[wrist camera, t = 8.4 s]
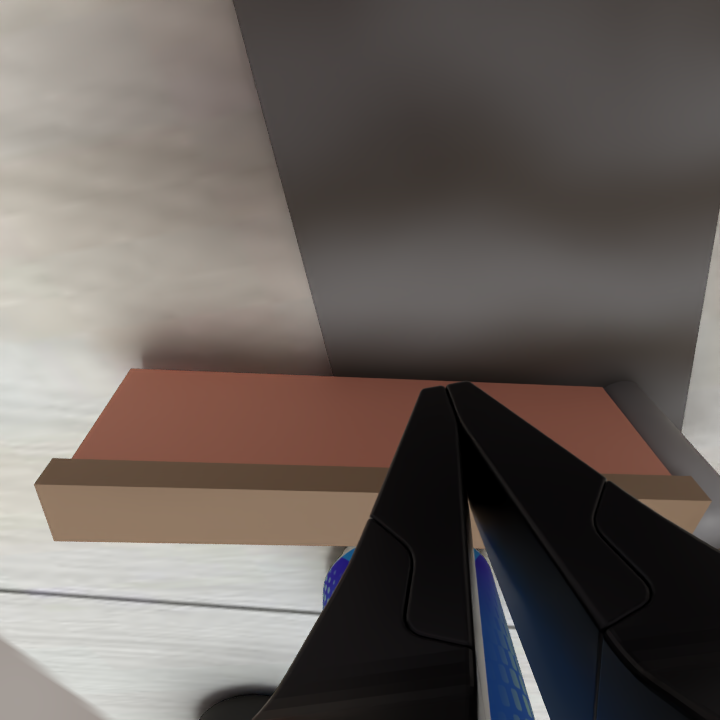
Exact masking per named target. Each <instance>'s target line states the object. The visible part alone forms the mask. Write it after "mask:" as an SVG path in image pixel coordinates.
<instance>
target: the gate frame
mask: <svg viewBox="0 0 720 720" xmlns="http://www.w3.org/2000/svg"><path fill="white" fill-rule="evenodd" d="M233 2H234V6H235V10H236V14H237V17H238V21H239V25H240V28H241V32H242V36H243V40H244V43H245V47H246V51H247V55H248V58H249V62H250V66H251V70H252V73H253V77H254V81H255V85H256V88H257V92H258V96H259V100H260V103H261V107H262V111H263V114H264V118H265V122H266V126H267V129H268V133H269V137H270V141H271V144H272V148H273V152H274V156H275V159H276V163H277V167H278V171H279V174H280V178H281V182H282V186H283V189H284V193H285V197H286V201H287V204H288V208H289V212H290V215H291V219H292V223H293V227H294V230H295V234H296V238H297V242H298V245H299V249H300V253H301V257H302V260H303V264H304V268H305V272H306V275H307V279H308V283H309V287H310V290H311V294H312V298H313V302H314V305H315V309H316V313H317V316H318V320H319V324H320V328H321V331H322V335H323V339H324V343H325V346H326V350H327V354H328V358H329V361H330V365H331V369H332V373H333V376H334V377H358V378H384V379H409V380H434V381H460V382H462V381H470V382H485V383H510V384H536V385H561V386H586V387H603V388H605V387H606V386H608V385H610V384H612V383H615V382H620V381H630V382H633V383H636V384H637V385H638V386H639V387H640V388H641V389H642V390H643V391H644V392H645V393H646V394H647V395H648V397H649V398H650V399H651V400H652V401H653V402H654V403H655V404H656V405H657V407H658V408H659V409H660V410H661V411H662V412H663V413H664V414H665V415H666V417H667V418H668V419H669V420H670V421H671V422H672V423H673V424H674V425H675V426H676V428H677V429H678V430H679V431H680V432H681V430H682V424H683V418H684V412H685V406H686V401H687V395H688V389H689V383H690V377H691V372H692V366H693V360H694V354H695V348H696V342H697V337H698V331H699V325H700V319H701V313H702V308H703V302H704V296H705V290H706V284H707V279H708V273H709V267H710V261H711V255H712V249H713V244H714V238H715V232H716V226H717V220H718V215H719V209H720V0H233ZM719 550H720V548H719Z"/></svg>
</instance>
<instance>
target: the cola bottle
mask: <svg viewBox="0 0 720 720" xmlns="http://www.w3.org/2000/svg"><path fill="white" fill-rule="evenodd" d="M270 698H271V696H264V695H245V696H238V697H234V698H230V699H227V700H224V701H222V702H220V703H218V704H216V705H214V706H213V707H211V708H210V709H209V710H207V711H206V712H205V713H204V714H203V715H202V717H201V718H200V719H199V720H252V719H253V718H254V717H255V716H256V714H257V713H258V712H259V711H260V710H261V709H262V708H263V706H264V705H265V704H266V703H267V702H268V700H269V699H270Z"/></svg>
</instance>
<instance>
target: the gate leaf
mask: <svg viewBox="0 0 720 720" xmlns="http://www.w3.org/2000/svg"><path fill="white" fill-rule="evenodd" d="M457 382H460V381H434V380H409V379H384V378H358V377H333V376H307V375H282V374H257V373H231V372H206V371H181V370H155V369H130V371H129V372H128V374H127V375H126V377H125V378H124V380H123V381H122V383H121V384H120V386H119V387H118V389H117V390H116V392H115V393H114V395H113V396H112V398H111V400H110V401H109V403H108V404H107V406H106V407H105V409H104V410H103V412H102V413H101V415H100V416H99V418H98V419H97V421H96V422H95V424H94V425H93V427H92V428H91V430H90V431H89V433H88V434H87V436H86V437H85V439H84V440H83V442H82V443H81V445H80V446H79V448H78V450H77V451H76V453H75V454H74V456H73V457H72V459H59V458H52V460H51V461H50V463H49V464H48V465H47V467H46V468H45V470H44V471H43V473H42V474H41V475H40V477H39V478H38V480H37V481H36V482H35V484H34V486H35V488H36V491H37V494H38V497H39V500H40V503H41V505H42V508H43V511H44V514H45V517H46V519H47V522H48V525H49V528H50V531H51V533H52V536H53V539H54V541H76V542H133V543H191V544H248V545H306V546H357V544H358V542H359V539H360V537H361V535H362V532H363V530H364V527H365V525H366V522H367V520H368V519H370V518H369V516H370V513H371V511H372V508H373V506H374V503H375V501H376V499H377V496H378V494H379V491H380V489H381V486H382V484H383V481H384V479H385V477H386V474H387V472H388V469H389V467H390V464H391V462H392V459H393V457H394V455H395V452H396V450H397V447H398V445H399V442H400V440H401V437H402V435H403V433H404V430H405V428H406V425H407V423H408V420H409V418H410V416H411V413H412V411H413V408H414V406H415V403H416V401H417V398H418V396H419V394H420V391H421V390H422V389H424V388H429V387H434V386H440V385H442V386H444V387H445V388H446V386H447V385H448V384H451V383H457ZM471 383H473V384H474V385H476V386H477V387H479V388H480V389H481V390H483V391H484V392H486V393H487V394H488V395H490V396H491V397H493V398H494V399H496V400H497V401H498V402H500V403H501V404H503V405H504V406H505V407H507V408H508V409H510V410H511V411H513V412H514V413H515V414H517V415H518V416H520V417H521V418H522V419H524V420H525V421H527V422H528V423H529V424H531V425H532V426H534V427H535V428H537V429H538V430H539V431H541V432H542V433H544V434H545V435H546V436H548V437H549V438H551V439H552V440H554V441H555V442H556V443H558V444H559V445H561V446H562V447H563V448H565V449H566V450H568V451H569V452H571V453H572V454H573V455H575V456H576V457H578V458H579V459H580V460H582V461H583V462H585V463H586V464H587V465H589V466H590V467H592V468H593V469H595V470H596V471H597V472H599V473H600V474H602V475H603V476H604V477H606V479H607V481H612V482H613V483H615V484H616V485H618V486H619V487H620V488H622V489H623V490H625V491H626V492H627V493H629V494H630V495H632V496H633V497H635V498H636V499H638V500H639V501H641V502H642V503H644V504H645V505H647V506H648V507H650V508H651V509H653V510H654V511H656V512H657V513H659V514H660V515H662V516H663V517H665V518H667V519H668V520H670V521H672V522H673V523H675V524H676V525H678V526H680V527H681V528H683V529H685V530H686V531H688V532H690V533H691V534H693V535H695V536H696V537H698V538H700V539H701V540H703V541H705V542H706V543H708V544H710V545H712V546H713V547H715V548H717V549H719V548H720V475H719V474H718V473H717V472H716V471H715V470H714V469H713V468H712V466H711V465H710V464H709V463H708V462H707V461H706V460H705V459H704V458H703V456H702V455H701V454H700V453H699V452H698V451H697V450H696V449H695V448H694V446H693V445H692V444H691V443H690V442H689V441H688V440H687V439H686V438H685V436H684V435H683V434H682V433H681V432H680V431H679V430H678V429H677V428H676V426H675V425H674V424H673V423H672V422H671V421H670V420H669V419H668V418H667V417H666V415H665V414H664V413H663V412H662V411H661V410H660V409H659V408H658V407H657V405H656V404H655V403H654V402H653V401H652V400H651V399H650V398H649V397H648V395H647V394H646V393H645V392H644V391H643V390H642V389H641V388H640V387H639V386H638V385H637V384H636V383H633V382H630V381H620V382H615V383H612V384H610V385H608V386H606V387H605V388H603V387H586V386H561V385H536V384H510V383H485V382H471ZM468 503H469V501H468ZM469 511H470V519H471V528H472V538H473V548H478V549H485V546H484V544H483V541H482V538H481V536H480V533H479V530H478V528H477V525H476V523H475V520H474V517H473V514H472V511H471V508H470V505H469Z"/></svg>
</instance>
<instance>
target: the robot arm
mask: <svg viewBox="0 0 720 720" xmlns="http://www.w3.org/2000/svg"><path fill="white" fill-rule="evenodd" d="M468 501H469V503H468ZM469 505H470V508H471V511H472V514H473V517H474V520H475V523H476V525H477V528H478V530H479V533H480V536H481V538H482V541H483V544H484V546H485V549H486V552H487V554H488V557H489V559H490V562H491V565H492V567H493V570H494V573H495V575H496V578H497V580H498V583H499V586H500V588H501V591H502V594H503V596H504V599H505V601H506V604H507V607H508V609H509V612H510V615H511V617H512V620H513V622H514V625H515V628H516V630H517V633H518V636H519V638H520V641H521V643H522V646H523V649H524V651H525V654H526V657H527V659H528V662H529V664H530V667H531V670H532V672H533V675H534V678H535V680H536V683H537V685H538V688H539V691H540V693H541V696H542V699H543V701H544V704H545V706H546V709H547V712H548V714H549V717H550V720H720V550H719V549H717V548H715V547H713V546H712V545H710V544H708V543H706V542H705V541H703V540H701V539H700V538H698V537H696V536H695V535H693V534H691V533H690V532H688V531H686V530H685V529H683V528H681V527H680V526H678V525H676V524H675V523H673V522H672V521H670V520H668V519H667V518H665V517H663V516H662V515H660V514H659V513H657V512H656V511H654V510H653V509H651V508H650V507H648V506H647V505H645V504H644V503H642V502H641V501H639V500H638V499H636V498H635V497H633V496H632V495H630V494H629V493H627V492H626V491H625V490H623V489H622V488H620V487H619V486H618V485H616V484H615V483H613V482H612V481H607V479H606V477H604V476H603V475H602V474H600V473H599V472H597V471H596V470H595V469H593V468H592V467H590V466H589V465H587V464H586V463H585V462H583V461H582V460H580V459H579V458H578V457H576V456H575V455H573V454H572V453H571V452H569V451H568V450H566V449H565V448H563V447H562V446H561V445H559V444H558V443H556V442H555V441H554V440H552V439H551V438H549V437H548V436H546V435H545V434H544V433H542V432H541V431H539V430H538V429H537V428H535V427H534V426H532V425H531V424H529V423H528V422H527V421H525V420H524V419H522V418H521V417H520V416H518V415H517V414H515V413H514V412H513V411H511V410H510V409H508V408H507V407H505V406H504V405H503V404H501V403H500V402H498V401H497V400H496V399H494V398H493V397H491V396H490V395H488V394H487V393H486V392H484V391H483V390H481V389H480V388H479V387H477V386H476V385H474V384H473V383H471V382H470V381H462V382H457V383H451V384H448V385H447V386H446V388H445V387H444V386H442V385H440V386H434V387H429V388H424V389H422V390H421V391H420V394H419V396H418V398H417V401H416V403H415V406H414V408H413V411H412V413H411V416H410V418H409V420H408V423H407V425H406V428H405V430H404V433H403V435H402V437H401V440H400V442H399V445H398V447H397V450H396V452H395V455H394V457H393V459H392V462H391V464H390V467H389V469H388V472H387V474H386V477H385V479H384V481H383V484H382V486H381V489H380V491H379V494H378V496H377V499H376V501H375V503H374V506H373V508H372V511H371V513H370V516H369V518H370V519H368V520H367V522H366V525H365V527H364V530H363V532H362V535H361V537H360V539H359V542H358V544H357V546H356V548H355V550H354V553H353V555H352V557H351V559H350V561H349V564H348V566H347V568H346V569H345V571H344V573H343V575H342V577H341V579H340V580H339V582H338V584H337V586H336V588H335V590H334V592H333V593H332V595H331V597H330V599H329V600H328V602H327V604H326V606H325V607H324V609H323V611H322V613H321V614H320V616H319V618H318V619H317V621H316V623H315V625H314V626H313V628H312V630H311V632H310V633H309V635H308V637H307V638H306V640H305V642H304V644H303V645H302V647H301V649H300V651H299V652H298V654H297V656H296V657H295V659H294V661H293V663H292V664H291V666H290V668H289V670H288V671H287V673H286V675H285V676H284V678H283V680H282V681H281V683H280V685H279V686H278V688H277V689H276V691H275V692H274V693H273V695H272V696H271V698H270V699H269V700H268V702H267V703H266V704H265V705H264V706H263V708H262V709H261V710H260V711H259V712H258V713H257V714H256V716H255V717H254V718H253V719H252V720H491V717H490V707H489V697H488V687H487V677H486V667H485V657H484V648H483V638H482V628H481V618H480V608H479V598H478V588H477V578H476V568H475V558H474V548H473V538H472V528H471V519H470V511H469Z"/></svg>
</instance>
